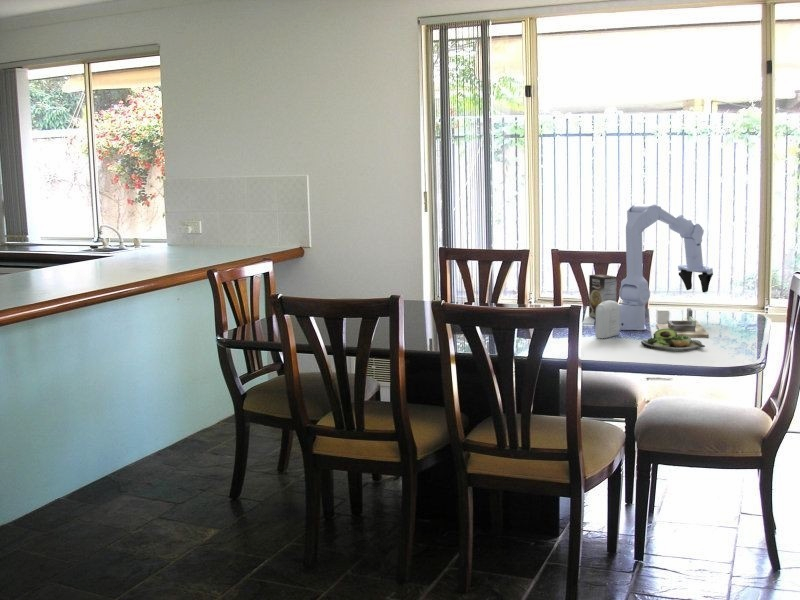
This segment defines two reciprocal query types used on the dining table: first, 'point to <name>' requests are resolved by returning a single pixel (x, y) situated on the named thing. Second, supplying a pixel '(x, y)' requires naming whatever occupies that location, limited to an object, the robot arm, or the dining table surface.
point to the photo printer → (607, 319)
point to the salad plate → (671, 341)
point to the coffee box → (601, 291)
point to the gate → (690, 316)
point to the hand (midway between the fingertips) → (697, 290)
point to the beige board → (685, 328)
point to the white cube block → (662, 316)
